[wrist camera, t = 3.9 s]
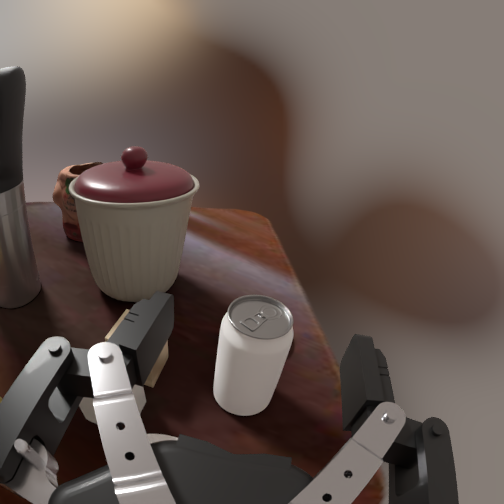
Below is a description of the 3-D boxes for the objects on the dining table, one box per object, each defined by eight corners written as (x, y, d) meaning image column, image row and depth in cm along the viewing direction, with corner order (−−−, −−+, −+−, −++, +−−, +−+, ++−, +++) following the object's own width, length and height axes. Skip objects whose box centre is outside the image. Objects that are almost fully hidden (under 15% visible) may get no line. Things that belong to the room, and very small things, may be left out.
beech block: (153, 388, 29) (148, 353, 26) (114, 373, 30) (104, 337, 27) (168, 357, 34) (167, 321, 31) (131, 345, 34) (126, 308, 31)
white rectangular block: (128, 438, 23) (117, 409, 20) (86, 419, 23) (69, 387, 20) (146, 401, 27) (139, 368, 25) (106, 386, 28) (94, 351, 25)
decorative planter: (146, 227, 62) (148, 164, 55) (124, 254, 51) (122, 180, 45) (71, 216, 61) (68, 158, 55) (42, 239, 50) (34, 173, 44)
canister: (73, 321, 35) (49, 165, 25) (89, 253, 49) (84, 138, 39) (200, 317, 41) (215, 164, 31) (184, 251, 56) (193, 138, 46)
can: (282, 395, 31) (312, 318, 26) (242, 428, 27) (264, 355, 21) (241, 363, 35) (257, 283, 29) (200, 390, 30) (206, 309, 24)
